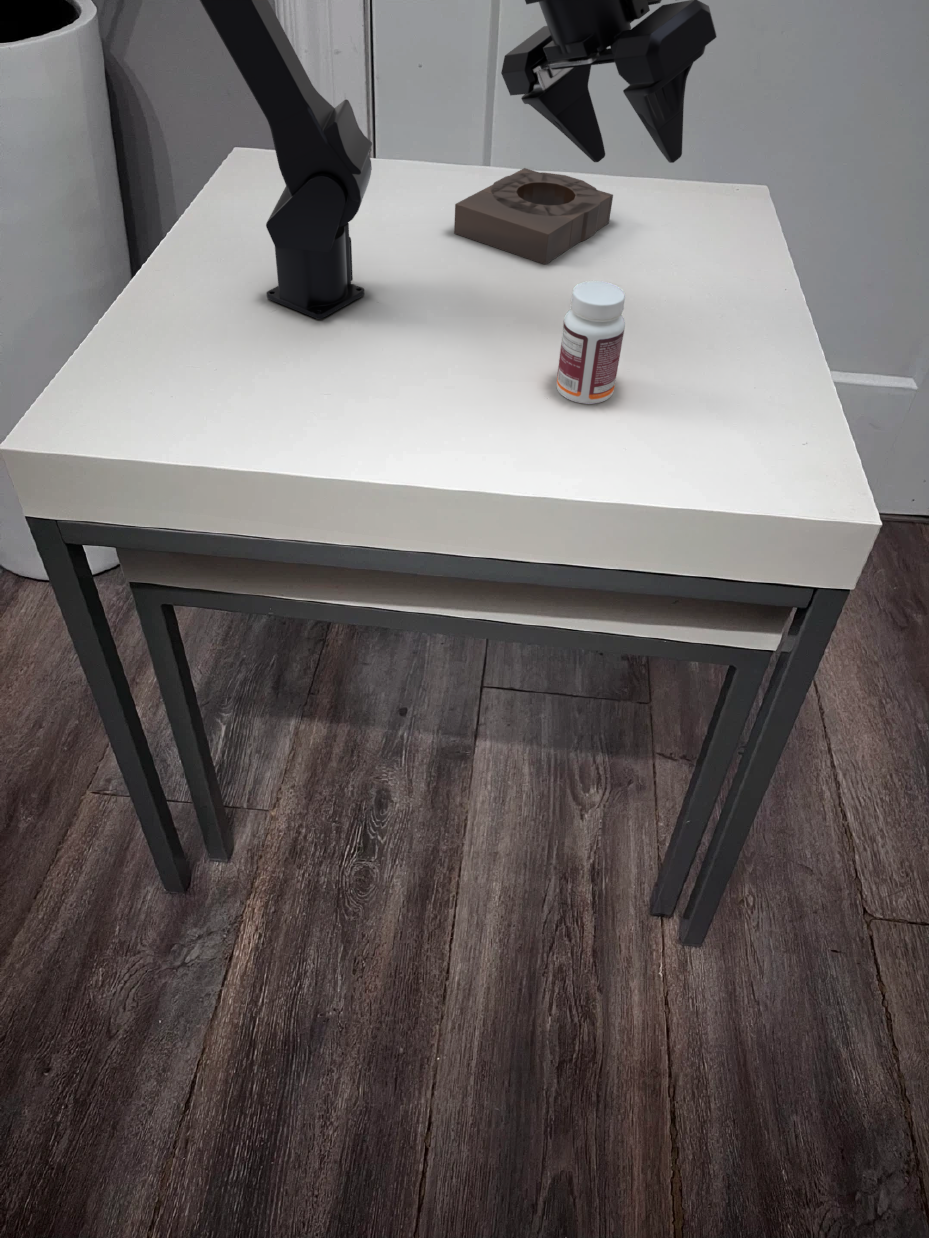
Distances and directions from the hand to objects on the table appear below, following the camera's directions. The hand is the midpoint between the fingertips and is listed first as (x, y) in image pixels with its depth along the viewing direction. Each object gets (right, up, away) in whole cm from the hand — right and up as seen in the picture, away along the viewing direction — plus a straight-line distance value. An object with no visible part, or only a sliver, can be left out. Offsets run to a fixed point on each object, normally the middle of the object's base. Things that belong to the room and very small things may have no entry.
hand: (636, 159), depth 78 cm
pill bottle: (-4, -18, +1) cm, 19 cm away
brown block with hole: (-7, +4, +23) cm, 24 cm away
